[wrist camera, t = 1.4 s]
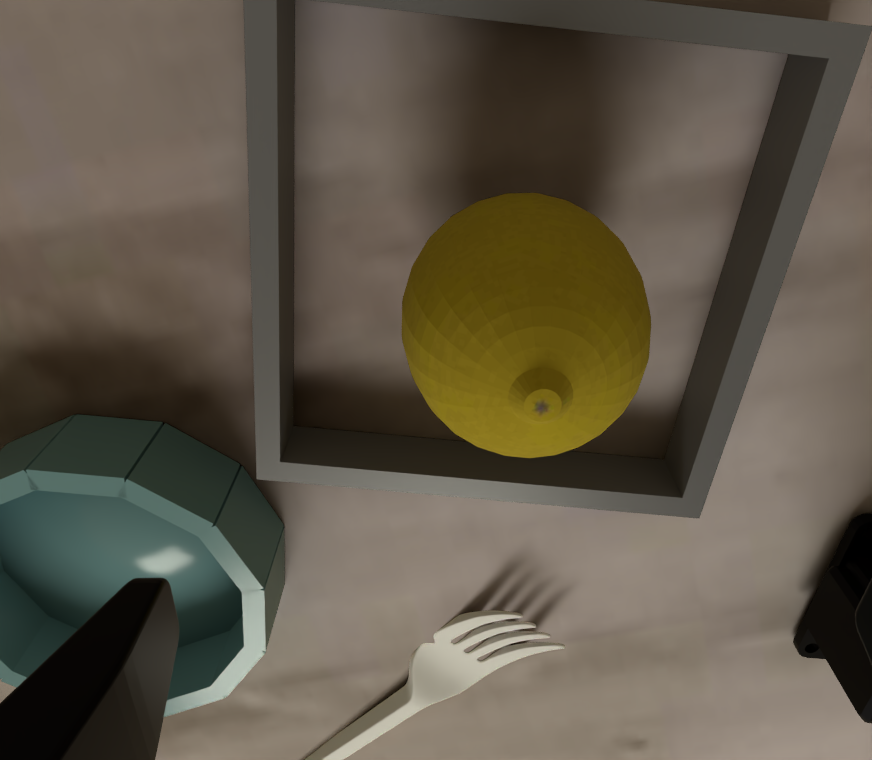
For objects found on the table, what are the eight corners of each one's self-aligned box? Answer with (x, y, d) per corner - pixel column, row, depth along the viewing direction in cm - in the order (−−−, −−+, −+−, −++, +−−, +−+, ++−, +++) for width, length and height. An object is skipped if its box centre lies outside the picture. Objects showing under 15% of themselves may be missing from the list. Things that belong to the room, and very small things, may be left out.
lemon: (405, 165, 18) (379, 262, 11) (616, 160, 18) (725, 256, 11) (413, 354, 21) (396, 530, 14) (598, 351, 21) (677, 527, 14)
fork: (205, 793, 33) (191, 835, 31) (507, 568, 25) (510, 607, 24) (261, 822, 34) (251, 864, 32) (568, 613, 26) (575, 654, 25)
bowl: (283, 433, 22) (262, 490, 20) (284, 657, 27) (267, 727, 24) (-48, 402, 22) (-116, 457, 19) (14, 635, 27) (-34, 704, 24)
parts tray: (828, 24, 17) (873, 26, 15) (679, 479, 23) (699, 518, 21) (264, -41, 16) (242, -47, 14) (271, 442, 22) (256, 479, 21)
